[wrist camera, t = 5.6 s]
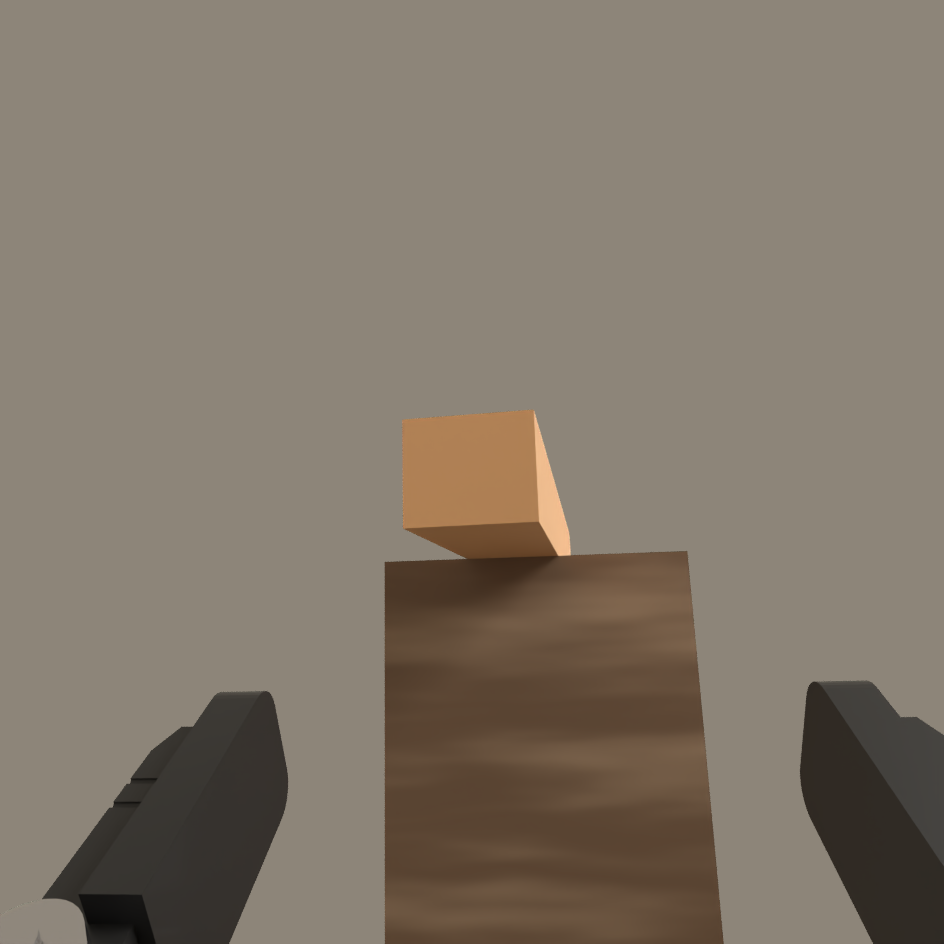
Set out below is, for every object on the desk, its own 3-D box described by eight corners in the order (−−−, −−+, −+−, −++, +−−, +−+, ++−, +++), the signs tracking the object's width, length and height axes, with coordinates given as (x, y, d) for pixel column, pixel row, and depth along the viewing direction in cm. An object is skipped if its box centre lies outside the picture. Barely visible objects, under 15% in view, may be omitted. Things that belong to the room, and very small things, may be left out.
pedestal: (788, 1646, 20) (687, 551, 27) (385, 1604, 21) (384, 562, 28) (698, 1271, 32) (643, 571, 39) (440, 1256, 33) (431, 578, 40)
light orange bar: (538, 521, 18) (533, 409, 18) (403, 528, 18) (402, 419, 19) (572, 580, 45) (569, 533, 45) (516, 582, 45) (514, 536, 46)
